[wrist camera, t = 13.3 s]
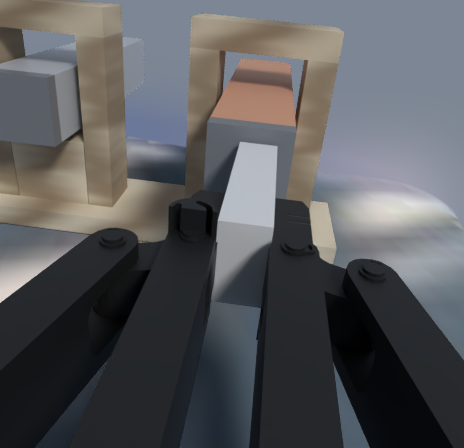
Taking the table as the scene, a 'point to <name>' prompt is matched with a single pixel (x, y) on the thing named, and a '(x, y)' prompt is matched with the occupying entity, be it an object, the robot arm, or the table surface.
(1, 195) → the jig
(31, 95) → the grey plug
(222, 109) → the rust plug
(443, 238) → the table surface
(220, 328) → the table surface
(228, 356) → the table surface
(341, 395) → the table surface
